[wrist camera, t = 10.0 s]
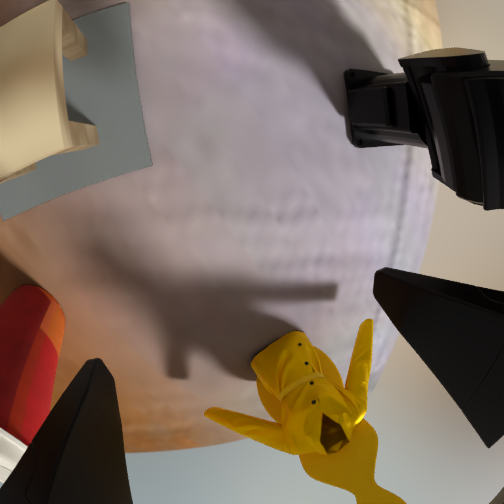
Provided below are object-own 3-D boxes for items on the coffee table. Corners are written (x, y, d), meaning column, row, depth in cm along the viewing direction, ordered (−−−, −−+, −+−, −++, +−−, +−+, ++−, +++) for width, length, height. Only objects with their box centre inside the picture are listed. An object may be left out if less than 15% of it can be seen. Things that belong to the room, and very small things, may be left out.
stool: (99, 144, 14) (64, 147, 8) (23, 175, 13) (-33, 197, 7) (87, 39, 11) (55, -3, 5) (10, 75, 9) (-43, 58, 3)
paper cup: (-11, 304, 15) (-74, 429, 2) (28, 252, 15) (-69, 398, 3) (49, 362, 18) (27, 497, 6) (96, 323, 19) (78, 493, 6)
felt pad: (129, 4, 11) (129, 2, 10) (152, 164, 16) (152, 165, 16) (-17, 71, 8) (-20, 70, 8) (5, 219, 13) (2, 221, 13)
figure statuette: (349, 287, 25) (518, 446, 6) (359, 335, 29) (482, 469, 10) (187, 378, 24) (263, 601, 4) (223, 411, 27) (296, 580, 8)
